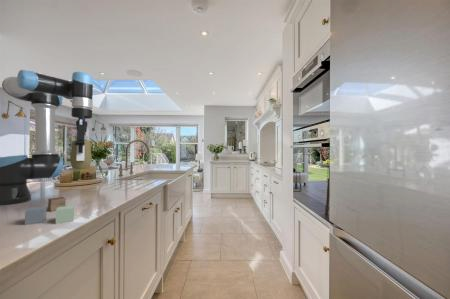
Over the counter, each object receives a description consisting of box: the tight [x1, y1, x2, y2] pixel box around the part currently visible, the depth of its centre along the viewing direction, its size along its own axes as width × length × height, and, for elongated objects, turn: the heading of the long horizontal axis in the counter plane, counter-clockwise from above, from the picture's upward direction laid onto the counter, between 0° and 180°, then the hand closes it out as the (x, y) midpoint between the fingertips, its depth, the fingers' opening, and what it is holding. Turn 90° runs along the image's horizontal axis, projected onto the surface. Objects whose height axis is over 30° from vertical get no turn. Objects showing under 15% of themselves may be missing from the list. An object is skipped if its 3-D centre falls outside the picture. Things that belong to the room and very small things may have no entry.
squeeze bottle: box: [69, 135, 93, 170], centre depth 91 cm, size 8×8×18 cm
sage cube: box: [55, 204, 75, 225], centre depth 78 cm, size 5×5×5 cm
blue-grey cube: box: [24, 205, 47, 226], centre depth 76 cm, size 5×5×5 cm
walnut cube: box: [47, 196, 66, 213], centre depth 92 cm, size 5×5×5 cm
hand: (81, 160), depth 91 cm, fingers closed on squeeze bottle, 8 cm apart
